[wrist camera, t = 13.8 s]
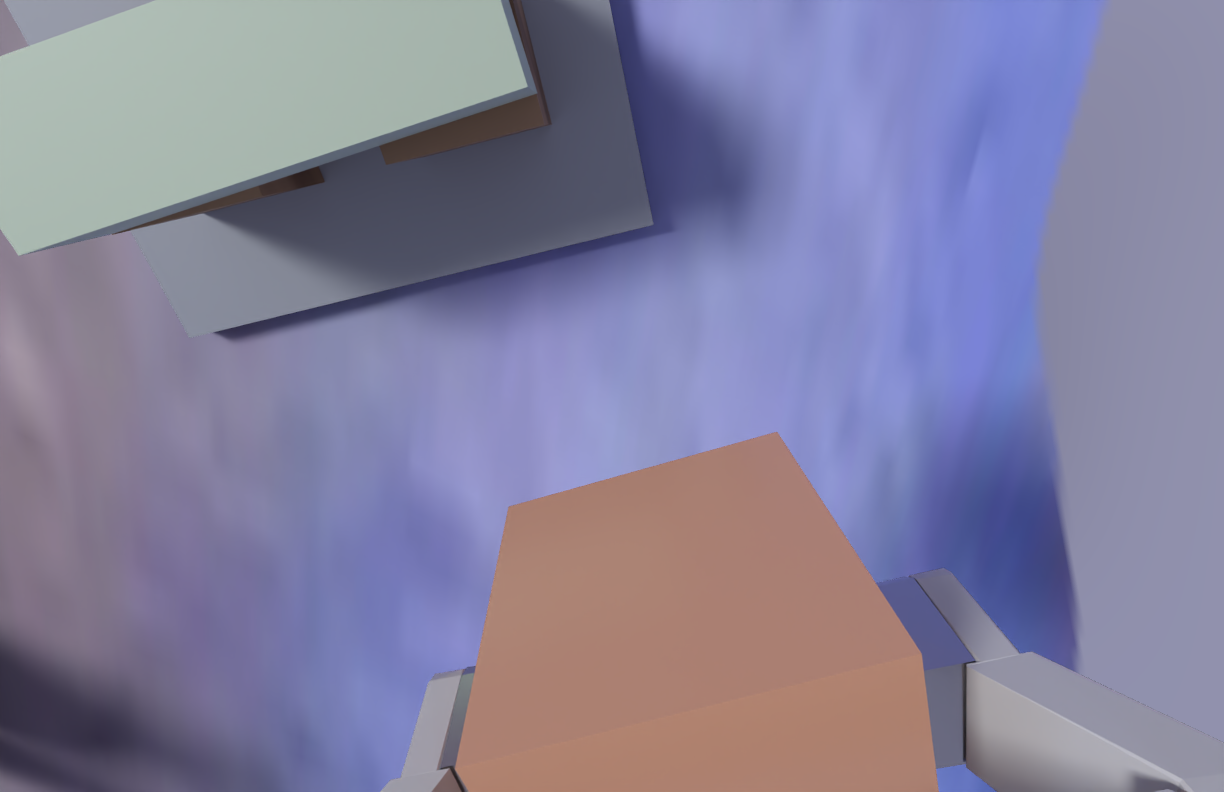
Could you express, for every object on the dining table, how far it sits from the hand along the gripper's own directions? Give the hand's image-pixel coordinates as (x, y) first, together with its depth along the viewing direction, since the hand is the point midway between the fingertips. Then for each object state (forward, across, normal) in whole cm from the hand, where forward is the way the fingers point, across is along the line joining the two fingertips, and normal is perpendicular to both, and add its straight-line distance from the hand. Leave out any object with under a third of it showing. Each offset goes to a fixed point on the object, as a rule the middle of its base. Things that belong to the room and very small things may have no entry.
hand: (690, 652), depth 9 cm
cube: (+2, 0, 0) cm, 2 cm away
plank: (+13, +8, -10) cm, 19 cm away
